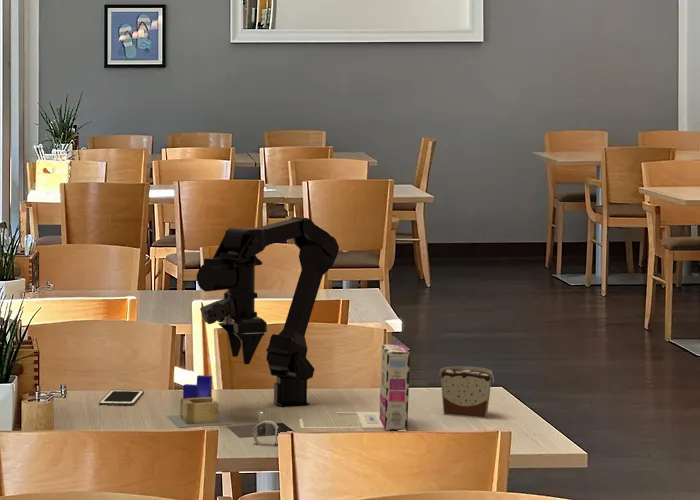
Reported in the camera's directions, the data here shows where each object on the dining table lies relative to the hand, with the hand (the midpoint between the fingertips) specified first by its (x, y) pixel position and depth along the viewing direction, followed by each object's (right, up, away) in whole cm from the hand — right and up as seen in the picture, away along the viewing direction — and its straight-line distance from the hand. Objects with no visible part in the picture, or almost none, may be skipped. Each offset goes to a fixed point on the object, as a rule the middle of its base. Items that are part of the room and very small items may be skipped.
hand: (240, 360), depth 267 cm
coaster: (-8, -12, -6) cm, 16 cm away
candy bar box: (+32, -13, -6) cm, 35 cm away
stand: (+5, -13, -14) cm, 20 cm away
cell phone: (-28, -11, +16) cm, 34 cm away
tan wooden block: (-8, -12, -6) cm, 16 cm away
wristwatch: (+7, -15, -25) cm, 30 cm away
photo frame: (+22, -13, -3) cm, 26 cm away
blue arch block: (-11, -11, +10) cm, 19 cm away
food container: (+49, -12, +7) cm, 51 cm away
